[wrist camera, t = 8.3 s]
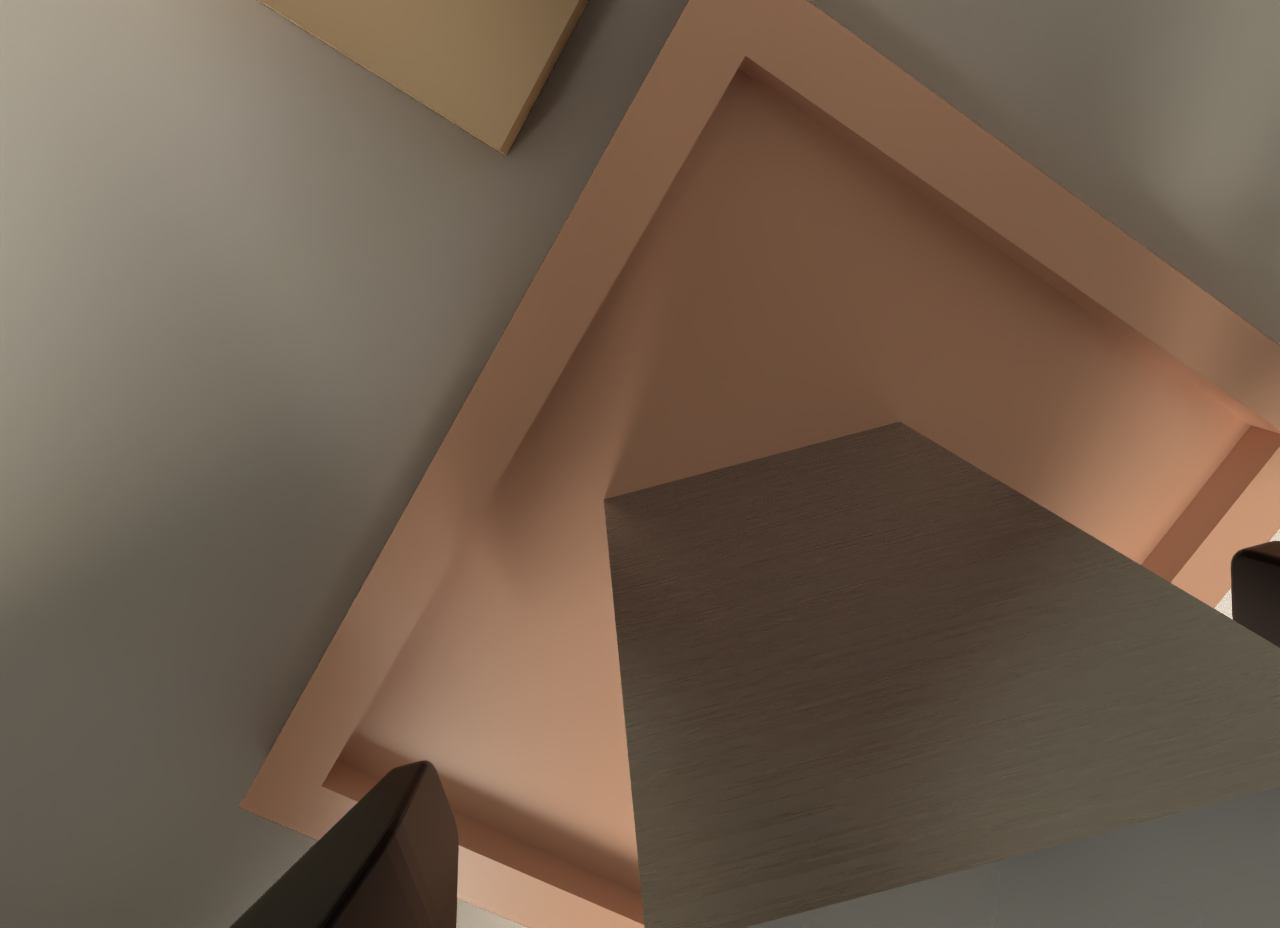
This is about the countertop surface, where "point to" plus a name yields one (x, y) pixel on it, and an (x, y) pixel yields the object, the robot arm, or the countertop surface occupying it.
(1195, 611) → the strut
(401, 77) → the stud base
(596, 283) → the tray
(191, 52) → the countertop surface
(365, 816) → the robot arm
